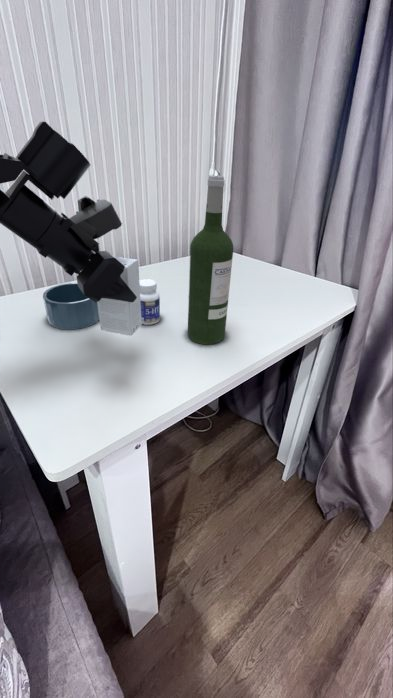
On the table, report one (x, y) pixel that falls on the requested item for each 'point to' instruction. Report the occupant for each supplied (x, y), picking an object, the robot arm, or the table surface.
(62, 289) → the bowl
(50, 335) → the table surface
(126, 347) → the table surface
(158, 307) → the pill bottle
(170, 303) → the table surface
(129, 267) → the cosmetic box
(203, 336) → the wine bottle
